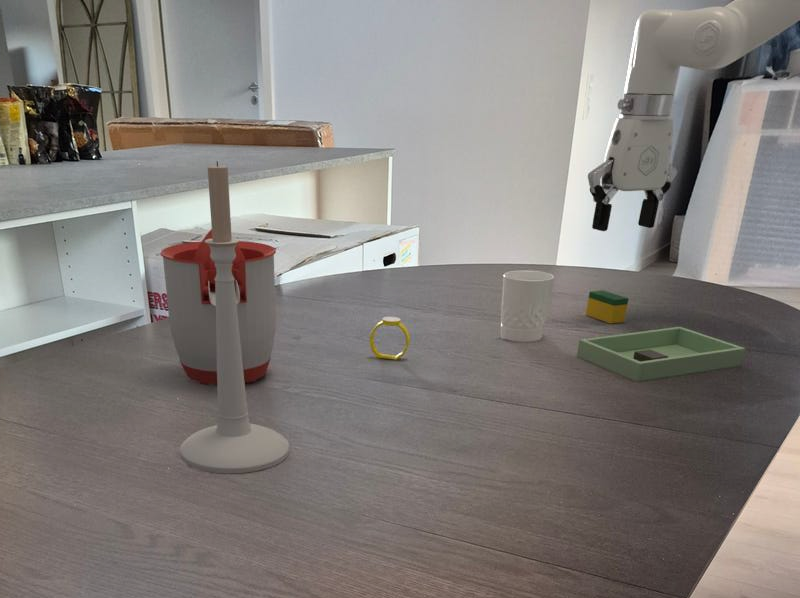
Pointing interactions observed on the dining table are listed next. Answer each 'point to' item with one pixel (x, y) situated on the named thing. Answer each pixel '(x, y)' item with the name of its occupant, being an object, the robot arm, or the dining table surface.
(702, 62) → the robot arm
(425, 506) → the dining table surface
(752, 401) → the dining table surface
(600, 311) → the sponge
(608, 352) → the tray
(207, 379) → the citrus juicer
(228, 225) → the candlestick
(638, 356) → the crust
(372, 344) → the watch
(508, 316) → the white cup
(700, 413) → the dining table surface
